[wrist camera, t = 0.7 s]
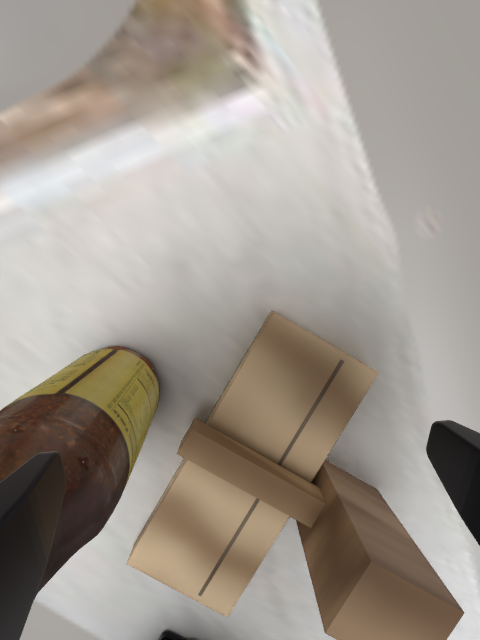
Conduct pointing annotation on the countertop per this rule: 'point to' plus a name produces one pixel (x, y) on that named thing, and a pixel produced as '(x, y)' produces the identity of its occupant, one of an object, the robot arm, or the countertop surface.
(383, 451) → the countertop surface
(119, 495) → the sauce bottle
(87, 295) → the countertop surface
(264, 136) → the countertop surface
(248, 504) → the board
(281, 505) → the gauge
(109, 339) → the countertop surface
